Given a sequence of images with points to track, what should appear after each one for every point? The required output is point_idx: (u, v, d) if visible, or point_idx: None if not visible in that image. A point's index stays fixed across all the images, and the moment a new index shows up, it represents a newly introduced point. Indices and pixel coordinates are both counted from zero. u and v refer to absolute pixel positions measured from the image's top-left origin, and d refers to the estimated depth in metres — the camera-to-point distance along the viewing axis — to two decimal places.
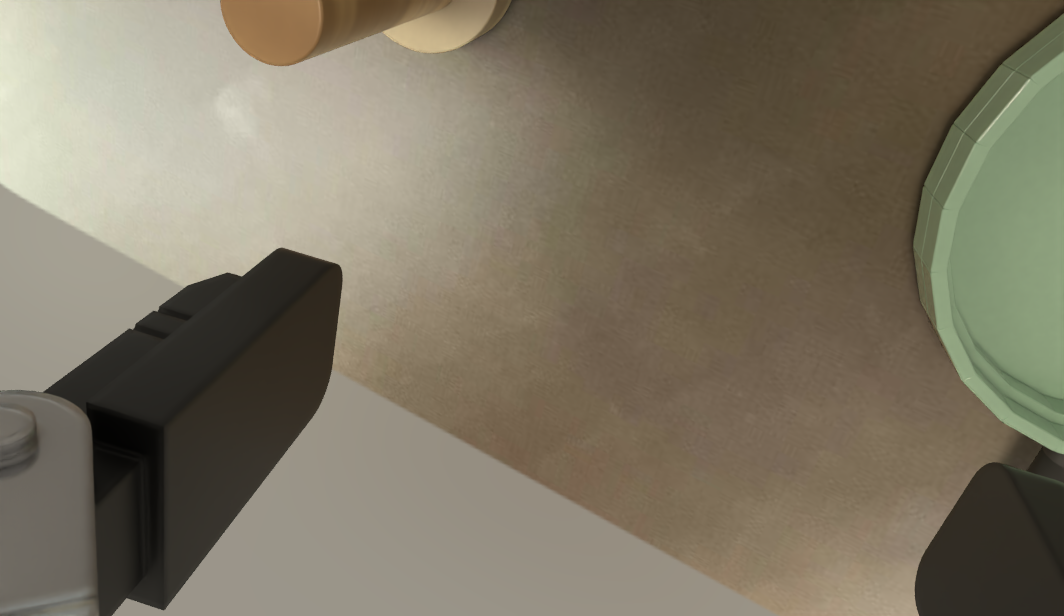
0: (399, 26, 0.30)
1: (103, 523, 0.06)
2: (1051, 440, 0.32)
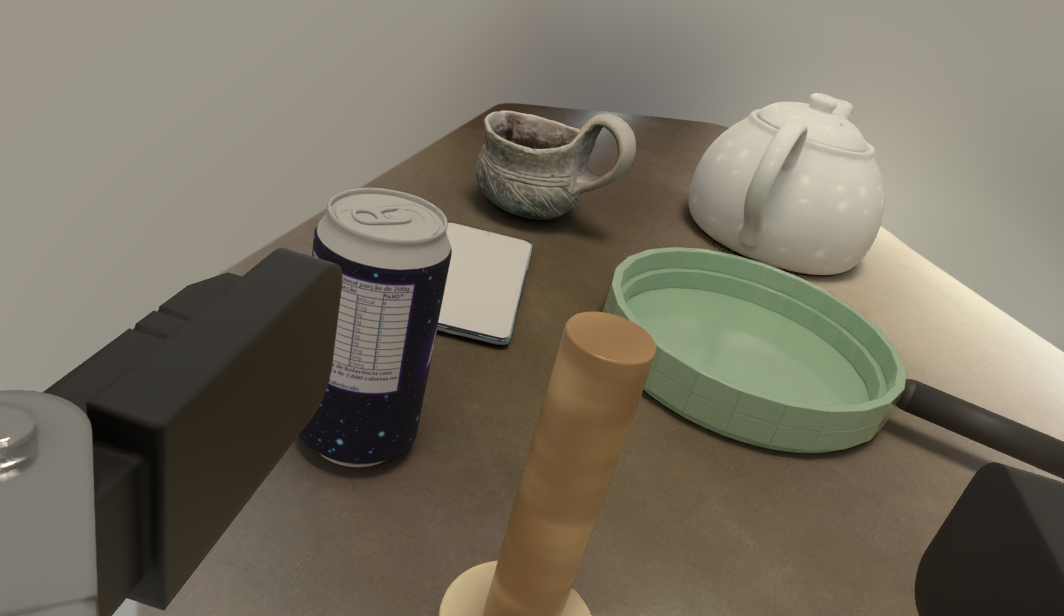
0: None
1: (103, 523, 0.06)
2: (896, 387, 0.48)
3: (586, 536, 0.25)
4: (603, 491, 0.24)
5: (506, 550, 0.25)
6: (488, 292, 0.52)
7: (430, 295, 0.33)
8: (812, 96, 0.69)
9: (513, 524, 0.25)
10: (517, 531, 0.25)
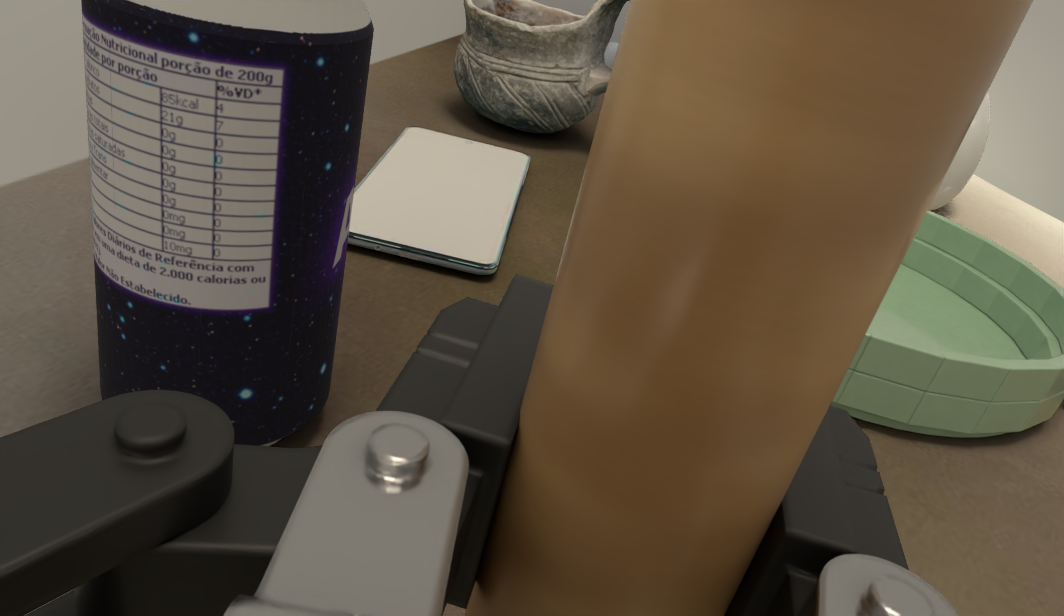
0: None
1: (461, 531, 0.07)
2: None
3: None
4: (775, 509, 0.07)
5: None
6: (466, 207, 0.36)
7: (325, 104, 0.16)
8: None
9: (480, 608, 0.08)
10: None
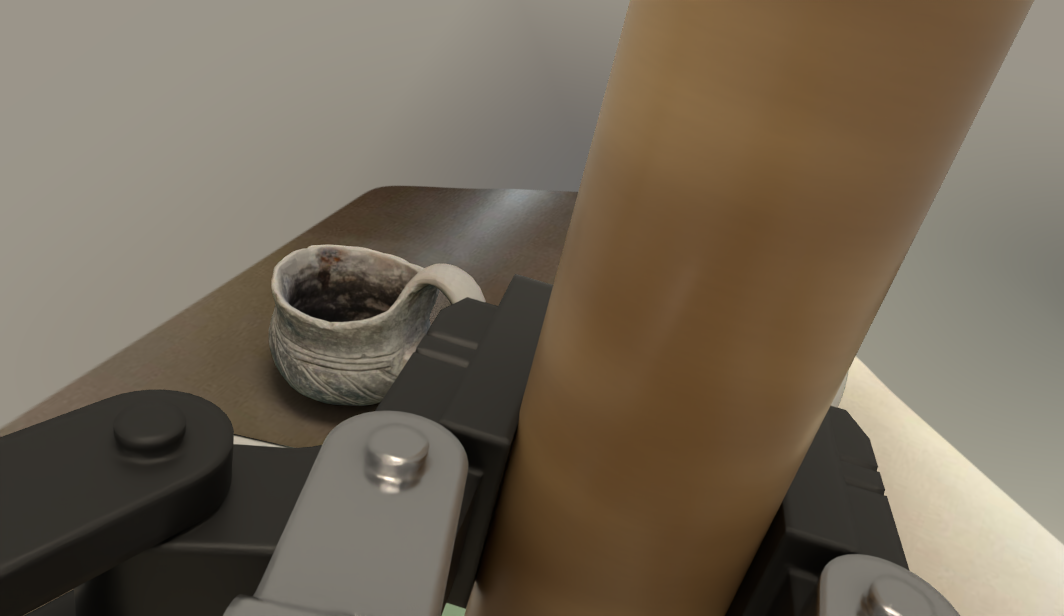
0: None
1: (461, 531, 0.07)
2: None
3: None
4: (775, 511, 0.07)
5: None
6: None
7: None
8: None
9: (479, 609, 0.08)
10: None
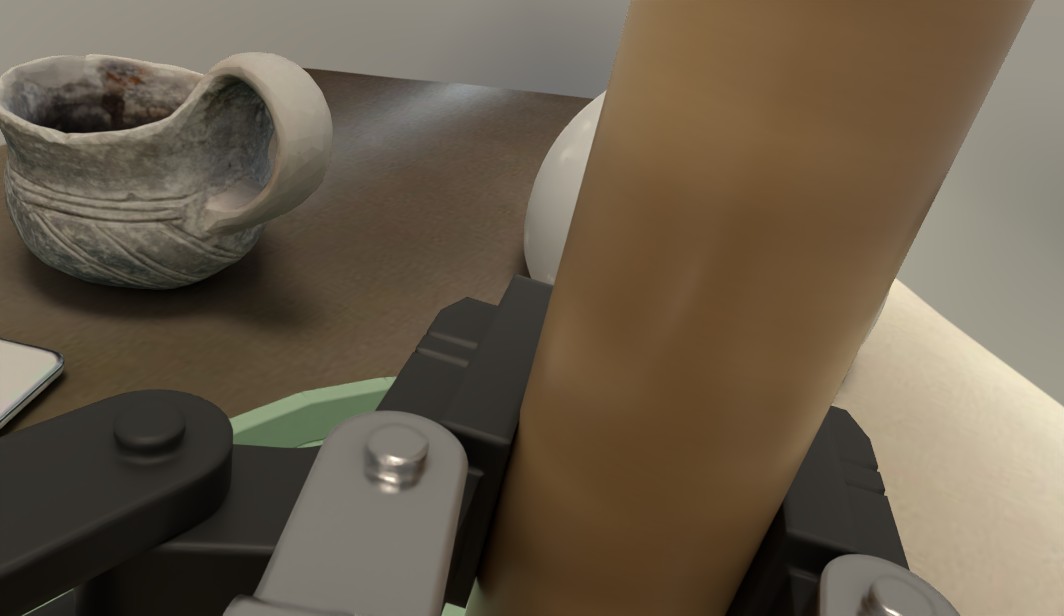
0: None
1: (460, 532, 0.07)
2: None
3: None
4: (776, 509, 0.07)
5: None
6: None
7: None
8: None
9: (480, 610, 0.08)
10: None
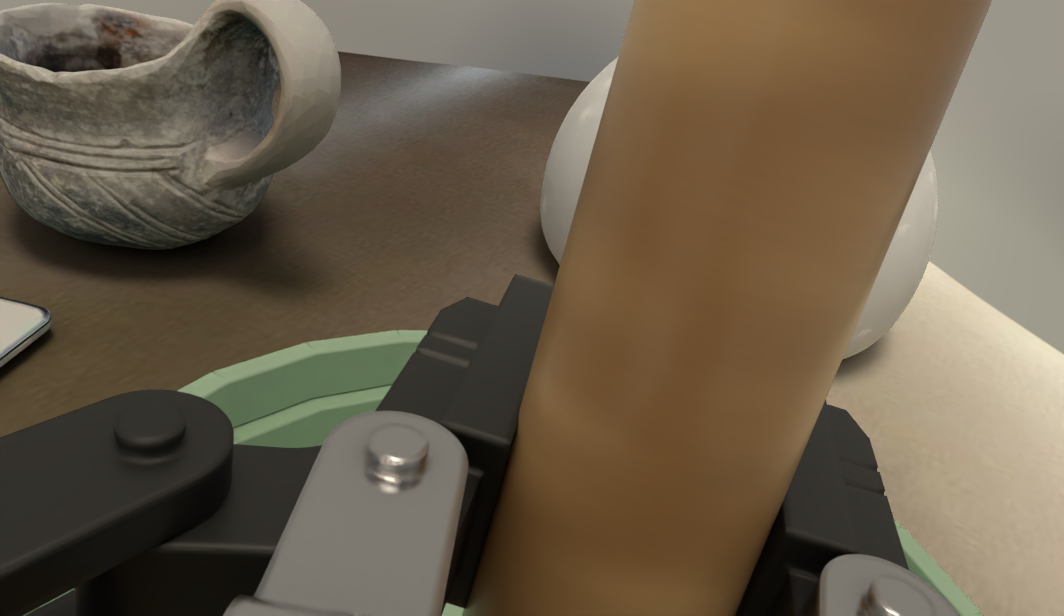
0: None
1: (461, 531, 0.07)
2: None
3: None
4: (795, 462, 0.07)
5: None
6: None
7: None
8: None
9: (481, 594, 0.08)
10: None
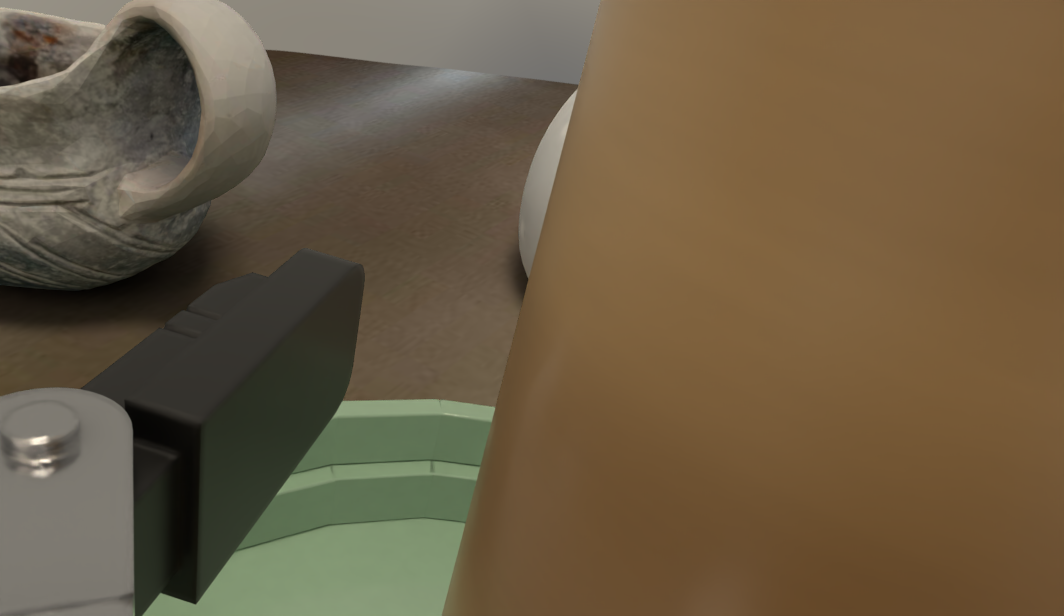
0: None
1: (142, 518, 0.06)
2: None
3: None
4: None
5: None
6: None
7: None
8: None
9: None
10: None
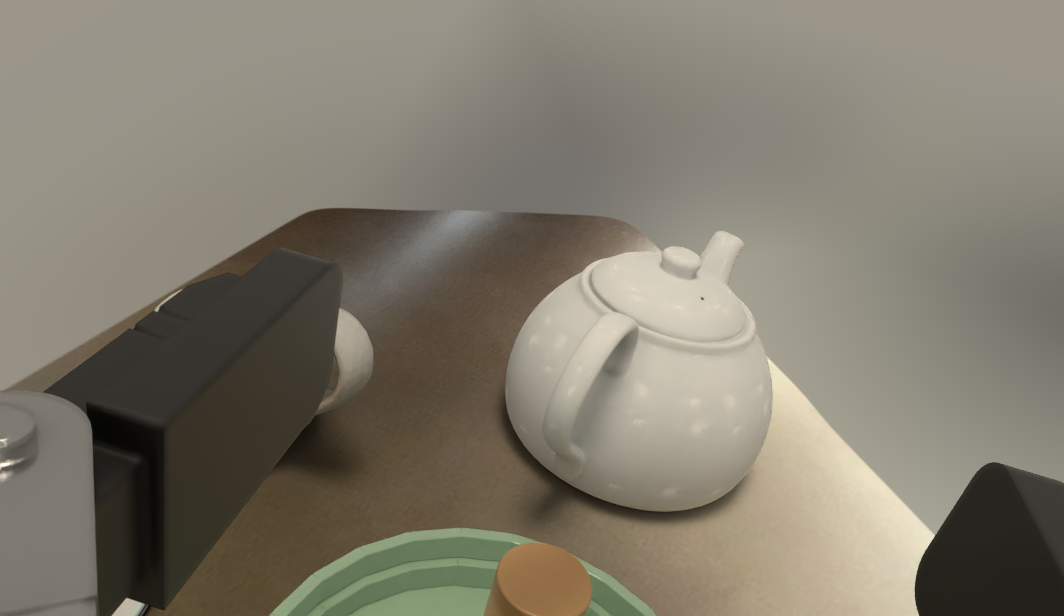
0: None
1: (103, 523, 0.06)
2: None
3: None
4: None
5: None
6: None
7: None
8: (664, 253, 0.48)
9: None
10: None
